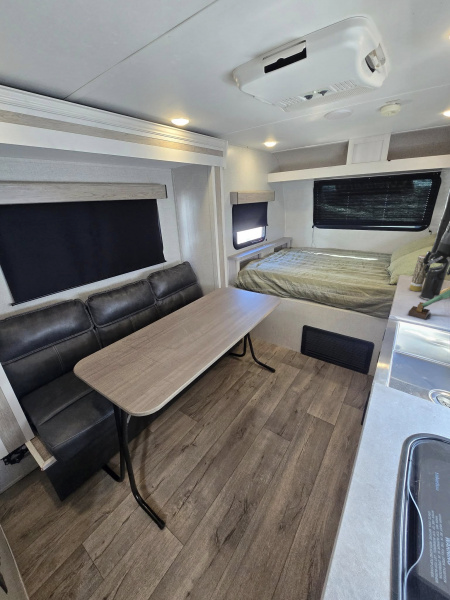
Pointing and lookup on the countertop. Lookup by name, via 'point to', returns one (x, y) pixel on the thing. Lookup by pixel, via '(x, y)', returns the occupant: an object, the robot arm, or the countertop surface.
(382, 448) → the countertop surface
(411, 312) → the brush stand
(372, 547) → the countertop surface
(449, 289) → the brush
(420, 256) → the bark textured cylinder
